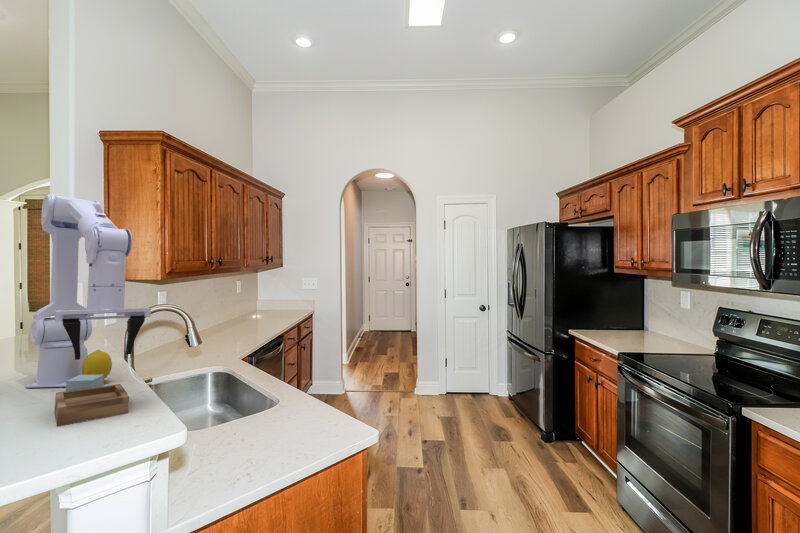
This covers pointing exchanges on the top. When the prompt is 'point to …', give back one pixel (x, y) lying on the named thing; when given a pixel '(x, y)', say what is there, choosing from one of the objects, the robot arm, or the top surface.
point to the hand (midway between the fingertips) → (103, 356)
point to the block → (84, 382)
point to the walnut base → (90, 404)
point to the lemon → (97, 364)
